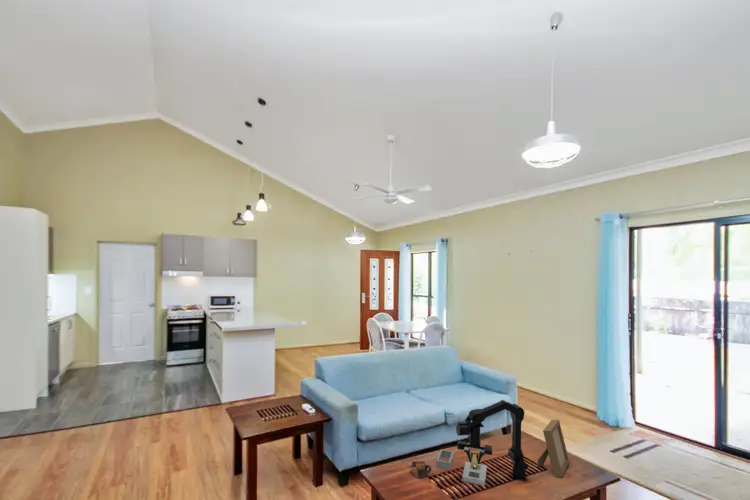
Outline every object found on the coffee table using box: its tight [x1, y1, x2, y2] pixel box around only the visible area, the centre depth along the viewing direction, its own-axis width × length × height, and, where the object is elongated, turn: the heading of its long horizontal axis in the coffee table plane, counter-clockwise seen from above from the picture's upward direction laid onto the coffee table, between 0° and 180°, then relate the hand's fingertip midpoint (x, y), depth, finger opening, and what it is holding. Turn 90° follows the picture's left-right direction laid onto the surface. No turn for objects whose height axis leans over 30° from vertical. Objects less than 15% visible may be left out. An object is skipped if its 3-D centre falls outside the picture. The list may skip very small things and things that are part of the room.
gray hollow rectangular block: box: [436, 449, 454, 471], centre depth 230 cm, size 8×15×4 cm, turn 161°
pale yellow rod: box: [470, 451, 479, 470], centre depth 213 cm, size 4×4×8 cm
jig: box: [461, 461, 488, 487], centre depth 217 cm, size 12×18×2 cm, turn 161°
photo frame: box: [536, 419, 570, 478], centre depth 230 cm, size 15×22×25 cm
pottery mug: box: [410, 460, 432, 479], centre depth 216 cm, size 12×10×8 cm
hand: (474, 463), depth 213 cm, fingers closed on pale yellow rod, 4 cm apart
